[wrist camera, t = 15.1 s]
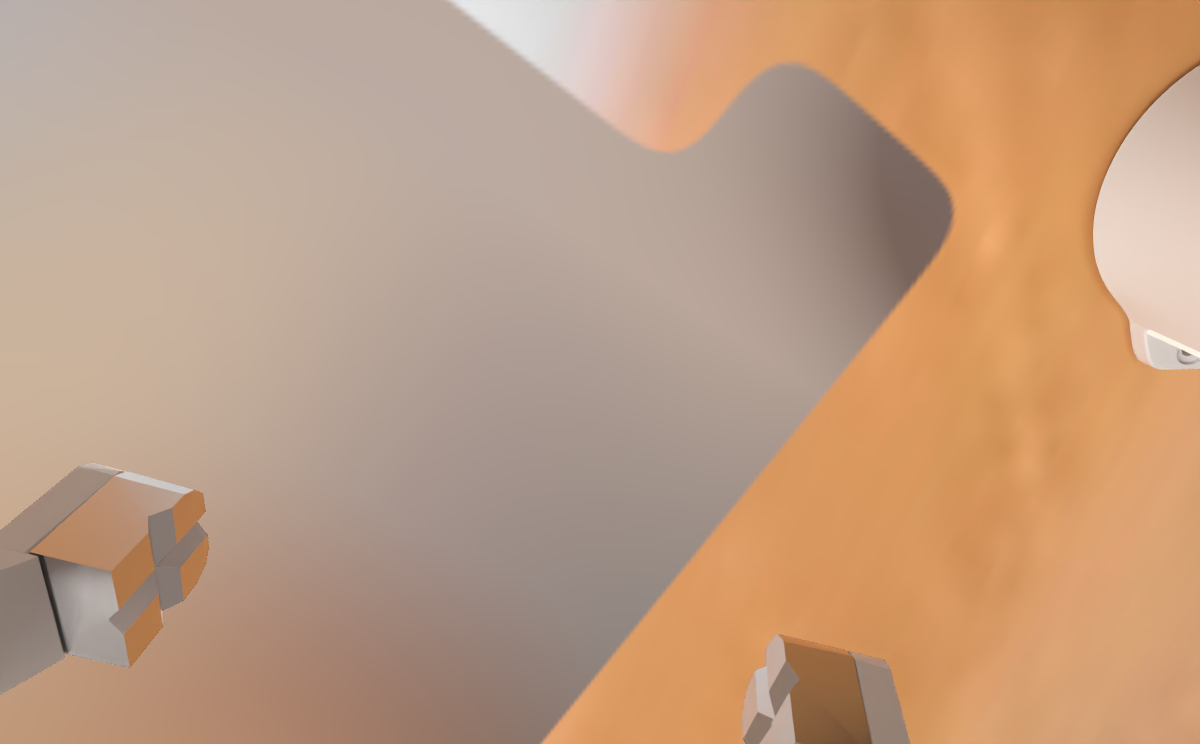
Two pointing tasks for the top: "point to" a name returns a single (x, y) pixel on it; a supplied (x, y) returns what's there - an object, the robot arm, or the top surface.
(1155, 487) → the top surface
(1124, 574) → the top surface
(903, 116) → the top surface
